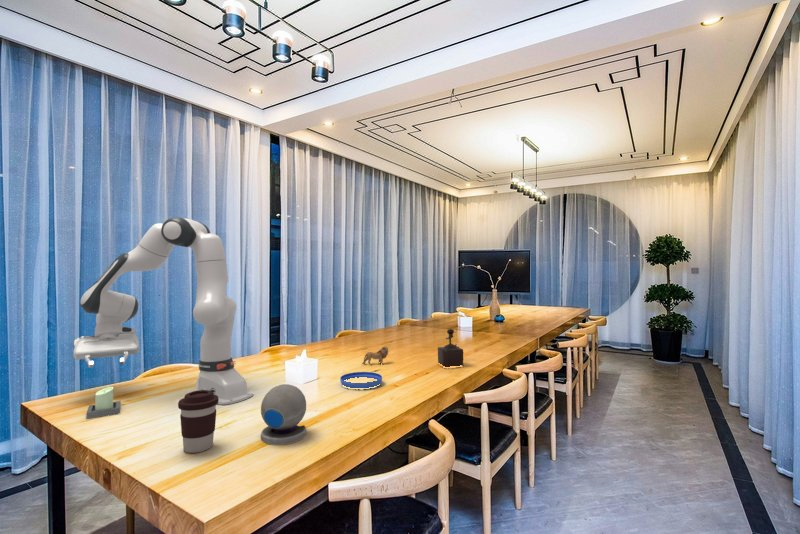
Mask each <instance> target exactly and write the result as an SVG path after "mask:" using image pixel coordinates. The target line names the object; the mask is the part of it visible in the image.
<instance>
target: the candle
mask: <svg viewBox="0 0 800 534" xmlns="http://www.w3.org/2000/svg"><path fill="white" fill-rule="evenodd" d="M94 397H95V399H94V400H95V401H94V405H95V411H96V410H103V409H109V408H113V402H114V387H113V386H108V387H104V388H103V389H100V390H98V391H97V392H95V395H94Z"/></svg>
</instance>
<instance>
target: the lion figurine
mask: <svg viewBox="0 0 800 534" xmlns="http://www.w3.org/2000/svg"><path fill="white" fill-rule="evenodd" d="M388 355H389V347H387V346H382V347H381V349H379V350H378V351H376V352H373V351H368V352H366V353H365V354H364V357H363V362H362V363H361V365H362V364H363V365H365V364H364V363H368V365H369V364H371V361H372V359H373V360H378V363H379V362H380V363H382V364H383V360H385V359H386V358H387V356H388ZM367 361H368V362H367Z"/></svg>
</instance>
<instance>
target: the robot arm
mask: <svg viewBox="0 0 800 534" xmlns="http://www.w3.org/2000/svg"><path fill="white" fill-rule="evenodd" d="M176 246H178V247H183V248H184V247H185V248H190V249H191V250H192V252H193V254H194V261H195V270H196V279H197V281H196V282H197V284H196V285H197V286H196V295H195V305H194V307H193V310H192V316H193V319H194V321H195V322H197V323H198V324H199V325H203V326H204V329H203V332H202V336H201V338H200V344H199V345H200V347H199V348H200V351H199V352H200V355H199V356H200V359H199V361H198V370H199V373H198V376H197V378H196V386H195V391H198V390H209V391H212V392H213V394H214V395H217V396H218V404H217V405H222V406H223V405H232V404H236V403H239V402H242V401H245V400H247V399H250V398H252V397H253V396H254V392H253V391H251V390H248V385H247V380H246V378H245V377H243V376H242V375H241V374H240V372H238V371H237V369H236V368H235V365H236V362H237V361H236V360H235V361H234V359H233V357H232V334H233V330H234V323H235V315H236V311H237V303H236V301H235V300H234V299H233V298H231V297H229V296H227V284H228V281H229V274H228V265H227V259H226V258H227V257H226V251H225V246H224V243H223V240H222V238H221V237H220V236H219V235H218V234H215V233H211V230H210V229H209V227H208V226H207V225H205V224H204V223H203V222H201V221H196V220H193V219H191V218H186V217H185V218H184V217H180V216H177V217H171V218H168V219H166V220H165V221H164V222H162V223H161V222H159V223H154V224H152V226H150V228H149V229H148V230H147V231H146V232H145V234H144V235H143V237H142V238H141V239H140V241H139V243H138V244H137V246H135V248H134V249H132V250H131V251H129V252H128V251H127V252H125V253H122V254H120V255H119V256H117V258H115V260H114V261H113V262H111V264H110V265H109V266H108V267H107V268H106V270H104V272H103V273H102V274H101V275H100V276H99V277H98V279H97V280H96V281H95V282H94V283H93V284H92V285H91V286H90V287H88V288H87V290H86V291H85V292H84V293H83V295H82V296H81V298H80V301H79V302H80V303H79V304H80V307H81V308H82V310H83V311H84V312H85V313H86V314H94V315H95V316H96V318H95V323H96V325H95V328H94V335H87V336H79V337H78V338H75V339H74V340H73V346H74V349H73V354H72V355H73V358H74V359H75V360H85V362H86V363H87V364H88V365H87V366H88V368H90V369H91V368H94V365H95V362H94V360H91V359H98V358H109V357H110V358H111V357H118V356H119V357H120V358H119V365H125V364H126V360H127V359H128V358H129V355H132V356H133V355H137V354H138V353H140V342H139V341H140V340H139V337H138V335H137V334H136V329H135V328H134V327H129V326H123V323H127V322H128V321H130V320H132V319H133V318H135V316H136V315H137V313H138V312H139V302H138V298H137V297H136V296H133V295H130V294H126V293H123V292H118V291H114V290H109V289H110V288H111V286H112V285H114V283H115V282H116V281H117V280H118V278H119V277H120V276H121V275H124V274H126V273H129V272H149V271H150V272H151V271H154V270H157V269H159V268H160V267H162V266H163V264H164V263H165V262H166V261H167V259H168V257H169V255H170V254H171V252H172V250H173V249H174V247H176ZM121 356H123V357H121ZM88 368H87V369H88Z"/></svg>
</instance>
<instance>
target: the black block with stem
mask: <svg viewBox="0 0 800 534" xmlns="http://www.w3.org/2000/svg"><path fill="white" fill-rule="evenodd" d="M446 333H447V334H448V337H446V338H445V340H449V341H448V344H446V345H444V346H439V347H438V346H437V364H438V363H440V364H442V365H443V366H445V367H450V366H460V365H463V366H464V349H463V348H460V346H457V343H455V344H453V343H452V339H453V338H454V335H453V334H454V333H455V330H454V329H453V328H449V329H448V330H447V331H446Z"/></svg>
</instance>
